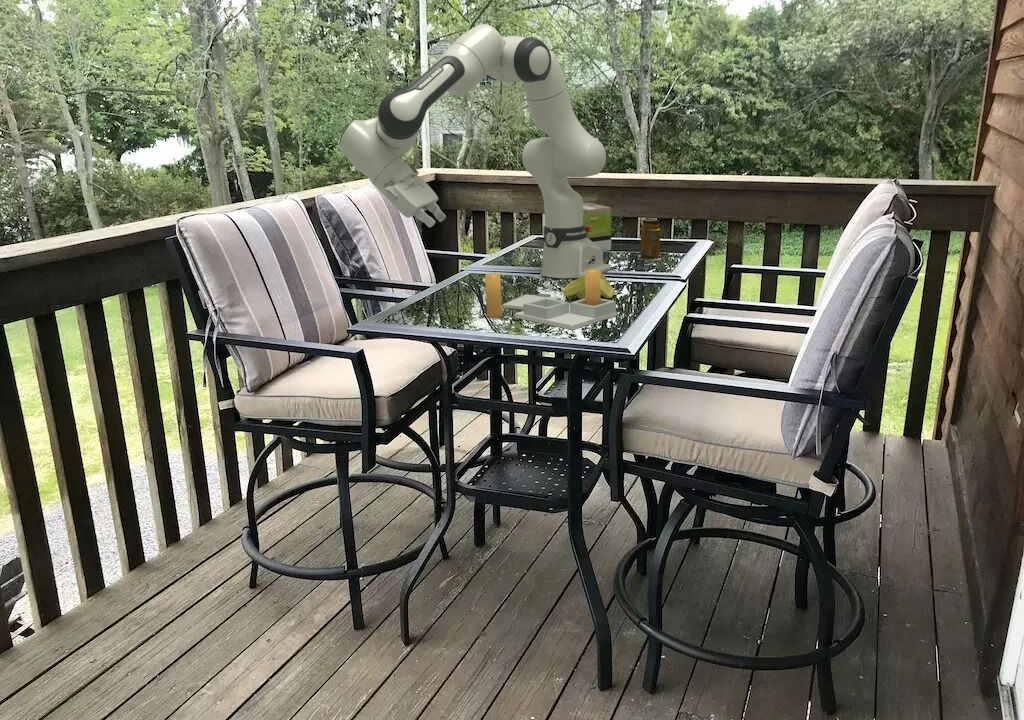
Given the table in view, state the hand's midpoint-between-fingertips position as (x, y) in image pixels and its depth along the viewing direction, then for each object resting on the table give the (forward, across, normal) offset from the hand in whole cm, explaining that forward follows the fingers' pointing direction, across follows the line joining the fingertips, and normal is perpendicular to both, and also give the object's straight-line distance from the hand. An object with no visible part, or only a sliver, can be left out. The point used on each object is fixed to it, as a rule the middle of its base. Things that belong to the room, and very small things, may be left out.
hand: (438, 222), depth 191 cm
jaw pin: (+25, 0, +7) cm, 26 cm away
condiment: (+50, +76, -19) cm, 92 cm away
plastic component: (+39, +19, -7) cm, 44 cm away
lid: (+30, +12, +2) cm, 32 cm away
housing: (+37, 0, -5) cm, 37 cm away
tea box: (+35, +93, -4) cm, 99 cm away
